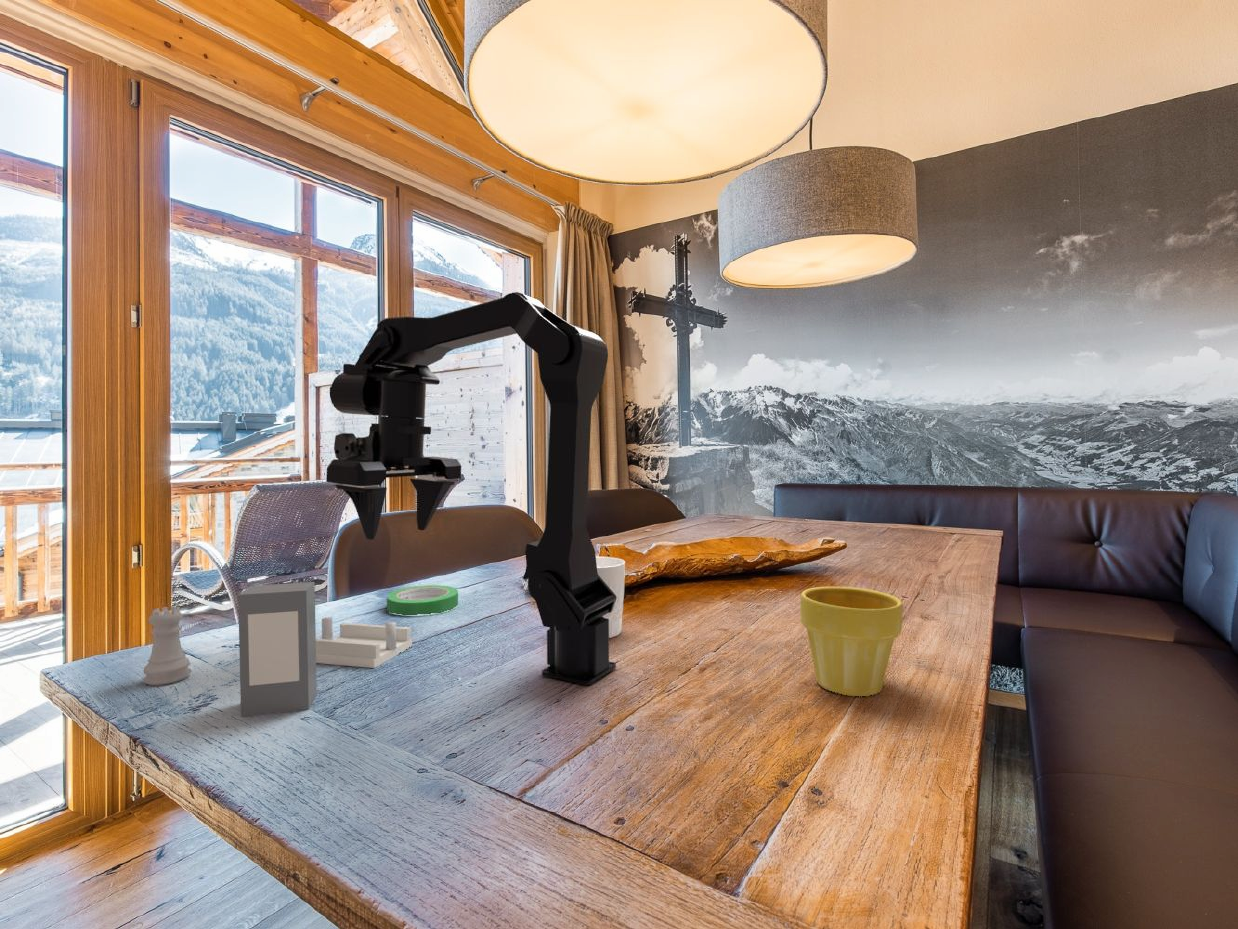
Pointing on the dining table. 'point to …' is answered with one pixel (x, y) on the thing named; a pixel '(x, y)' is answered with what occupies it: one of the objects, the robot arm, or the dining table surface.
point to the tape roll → (422, 600)
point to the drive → (277, 648)
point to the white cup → (613, 589)
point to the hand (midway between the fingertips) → (397, 534)
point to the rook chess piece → (166, 649)
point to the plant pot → (850, 636)
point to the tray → (361, 644)
